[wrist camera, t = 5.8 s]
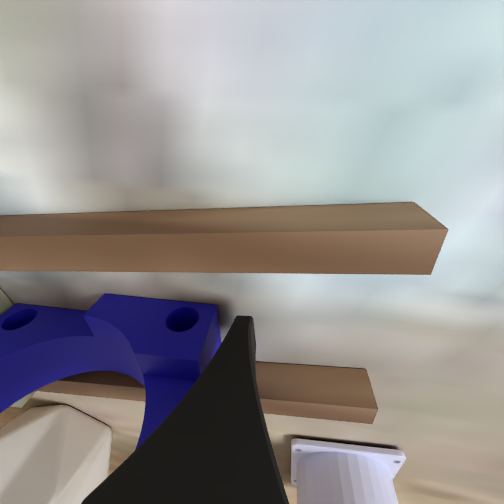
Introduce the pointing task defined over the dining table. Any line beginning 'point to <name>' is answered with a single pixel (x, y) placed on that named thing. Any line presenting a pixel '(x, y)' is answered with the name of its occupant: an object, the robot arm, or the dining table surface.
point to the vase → (52, 456)
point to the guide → (233, 261)
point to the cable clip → (110, 348)
